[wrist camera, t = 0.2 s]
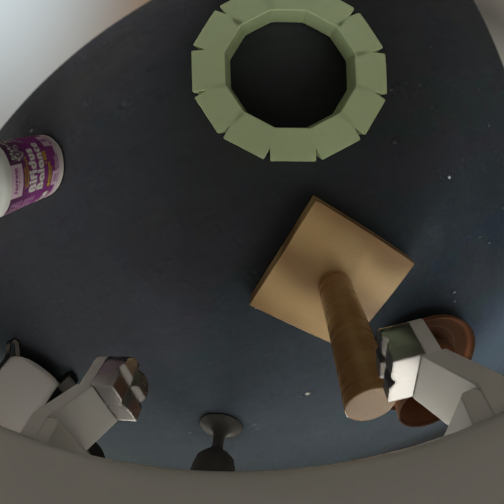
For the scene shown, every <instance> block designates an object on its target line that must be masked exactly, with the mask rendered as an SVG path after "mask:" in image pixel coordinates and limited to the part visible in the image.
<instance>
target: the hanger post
mask: <svg viewBox="0 0 504 504" xmlns="http://www.w3.org/2000/svg"><path fill="white" fill-rule="evenodd" d="M414 264H415V263H414V262H413V261H412V260H411V258H410V257H409V256H408V255H407V254H405V253H404V252H402V251H401V250H399V249H398V248H396V247H395V246H393V245H392V244H390V243H389V242H387V241H386V240H384V239H383V238H381V237H380V236H378V235H377V234H375V233H374V232H372V231H371V230H369V229H367V228H366V227H364V226H363V225H361V224H360V223H358V222H356V221H355V220H353V219H352V218H350V217H349V216H347V215H345V214H344V213H342V212H340V211H339V210H337V209H336V208H334V207H332V206H331V205H329V204H327V203H326V202H324V201H322V200H321V199H319V198H317V197H316V196H314V195H313V196H312V198H311V200H310V201H309V203H308V204H307V206H306V208H305V209H304V211H303V212H302V214H301V216H300V217H299V219H298V221H297V222H296V224H295V225H294V227H293V229H292V230H291V232H290V233H289V235H288V237H287V238H286V240H285V241H284V243H283V245H282V246H281V248H280V249H279V251H278V253H277V254H276V256H275V257H274V259H273V260H272V262H271V264H270V265H269V267H268V268H267V270H266V272H265V273H264V275H263V276H262V278H261V279H260V281H259V283H258V284H257V286H256V287H255V289H254V290H253V292H252V294H251V297H250V305H251V306H253V307H255V308H257V309H259V310H261V311H263V312H265V313H268V314H270V315H272V316H274V317H276V318H278V319H280V320H282V321H284V322H287V323H289V324H291V325H293V326H295V327H297V328H299V329H302V330H304V331H306V332H308V333H310V334H313V335H315V336H317V337H319V338H321V339H324V340H326V341H328V342H330V343H331V346H332V351H333V356H334V361H335V365H336V370H337V375H338V380H339V385H340V390H341V396H342V401H343V406H344V412H345V414H346V415H347V417H349V418H350V419H352V420H356V421H366V420H371V419H375V418H377V417H380V416H382V415H383V414H385V413H386V412H388V411H389V410H390V409H391V408H392V407H393V406H394V404H395V402H396V401H392V402H388V401H387V398H386V395H385V392H384V389H383V379H382V378H380V377H379V374H378V371H377V366H376V349H377V347H378V344H377V342H376V339H375V337H374V334H373V332H372V329H371V327H370V324H369V322H370V321H371V319H372V318H373V317H374V316H375V315H376V313H377V312H378V311H379V310H380V308H381V307H382V306H383V305H384V303H385V302H386V301H387V300H388V298H389V297H390V296H391V295H392V293H393V292H394V291H395V289H396V288H397V287H398V285H399V284H400V283H401V281H402V280H403V279H404V277H405V276H406V275H407V273H408V272H409V271H410V269H411V268H412V267H413V265H414Z"/></svg>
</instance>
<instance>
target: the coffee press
mask: <svg viewBox="0 0 504 504" xmlns="http://www.w3.org/2000/svg"><path fill="white" fill-rule="evenodd" d="M11 342H13V343H14V344H15V352H16V356H13V357H10V358H9V356H10V351H11ZM77 382H78V379H77V378H76V377H75V376H74V374H73V373H72V372H71V371H69V372H67V373H66V374H64V375H63V376H62V377H60V378H58V379H55V378H54V377H53V376H52V375H51V374H50V373H49V372H48V371H46V370H45V369H44V368H42V367H41V366H40V365H38V364H36V363H35V362H33V361H31V360H29V359H27V358H24V357H22V356H21V353H20V343H19V341H18V340H17V339H15V338H13V339H11V340H9V341H8V342H7V346H6V355H5V358H4V359H3V361H2V362H1V363H0V425H1V426H3V427H5V428H8V429H10V430H13V431H15V432H18V433H21V431H22V430H23V428H24V426H25V425H26V423H27V422H28V420H29V418H30V417H31V415H32V414H33V412H35V411H36V410H38V409H39V408H41V407H42V406H44V405H45V404H47V403H49V402H50V401H52V400H53V399H55V398H56V397H58V396H59V395H61V394H62V393H64V392H65V391H67V390H68V389H70V388H71V387H73V386H74V385H76V383H77ZM87 452H88V453H89V454H90V455H93V456H97V457H102V458H105V456H104V453H103V451H102V449H101V448H100V446H99V445H98V444H97V443H96V442H95V443H94V444H93V445H92V446H91V447H90V448H89V449H88V450H87Z"/></svg>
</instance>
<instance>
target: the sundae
mask: <svg viewBox="0 0 504 504" xmlns="http://www.w3.org/2000/svg"><path fill="white" fill-rule="evenodd" d="M200 425H201V427H202V429H203V430H204V431H206V432H207V433H209V434H211V435H213V436H214V437H213V444H212V447H210V448H207V449H205V450H203V451H201V452H199V453H198V454H197V456H196V458H195V460H194V462H193V464H192V467H191V469H190V470H199V471H235V467H234V460H233V459H232V457H231V456H230V455H229V454H228V453H227V452H226V451H225V450H223V443H224V439H225V437H234V436H237V435H238V434H240V433H241V432H242V429H243V427H242V424H241V423H240V422H239V421H238V420H237V419H235V418H233V417H231V416H228V415H224V414H209V415H206V416H204V417H202V418H201V420H200Z"/></svg>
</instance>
